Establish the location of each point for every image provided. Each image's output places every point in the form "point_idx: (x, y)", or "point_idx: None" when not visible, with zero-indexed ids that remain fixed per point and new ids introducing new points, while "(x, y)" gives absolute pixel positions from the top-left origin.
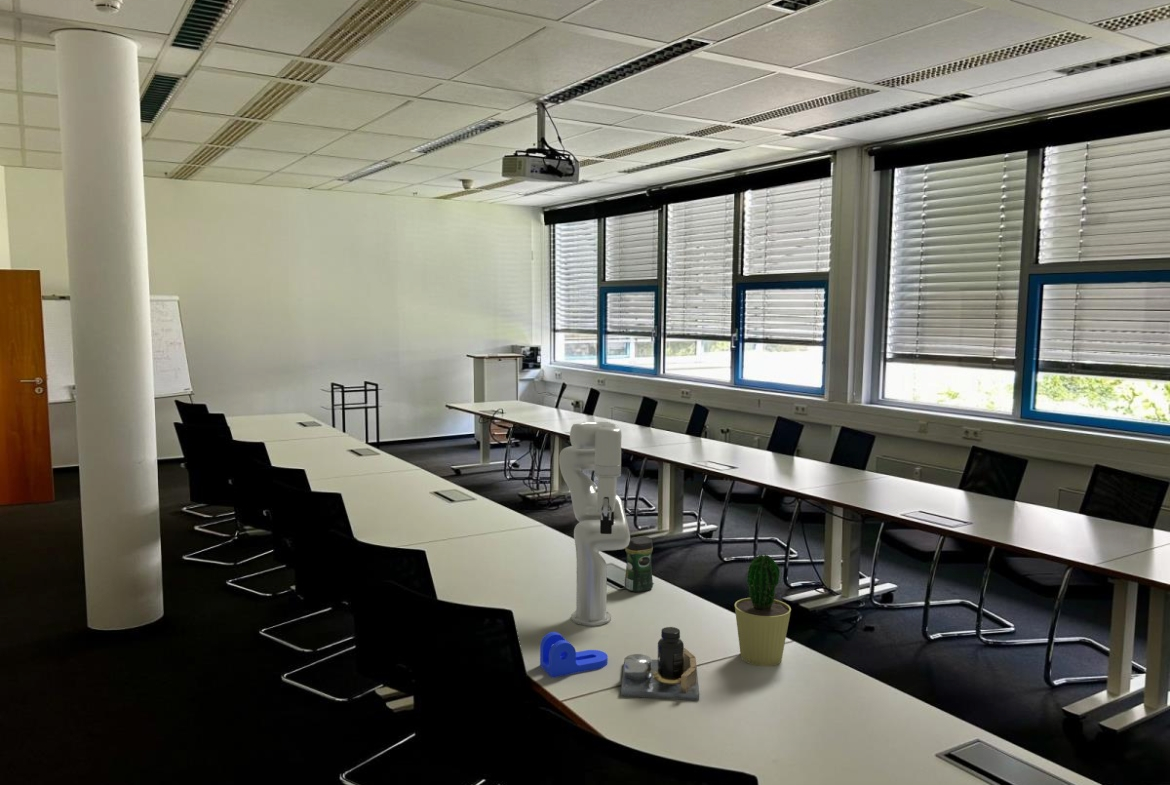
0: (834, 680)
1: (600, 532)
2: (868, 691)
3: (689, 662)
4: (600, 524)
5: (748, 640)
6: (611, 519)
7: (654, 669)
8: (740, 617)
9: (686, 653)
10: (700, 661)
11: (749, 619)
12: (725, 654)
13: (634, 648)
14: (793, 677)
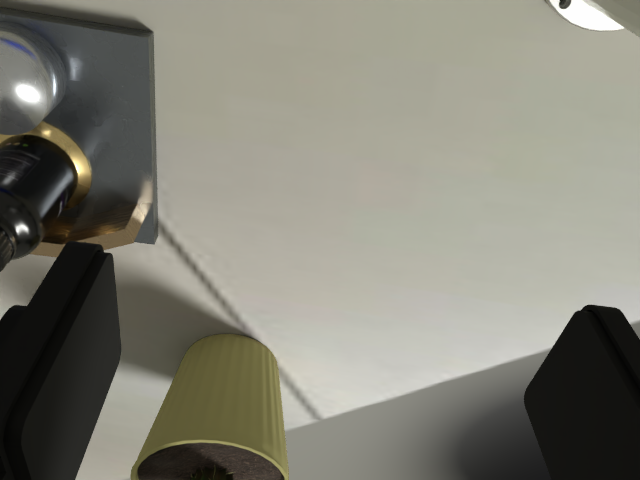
0: (131, 438)
1: (64, 247)
2: (94, 463)
3: (70, 234)
4: (1, 348)
5: (177, 386)
6: (558, 451)
7: (72, 127)
8: (177, 425)
9: (90, 240)
10: (197, 250)
11: (150, 440)
12: (247, 308)
13: (288, 83)
14: (132, 391)
